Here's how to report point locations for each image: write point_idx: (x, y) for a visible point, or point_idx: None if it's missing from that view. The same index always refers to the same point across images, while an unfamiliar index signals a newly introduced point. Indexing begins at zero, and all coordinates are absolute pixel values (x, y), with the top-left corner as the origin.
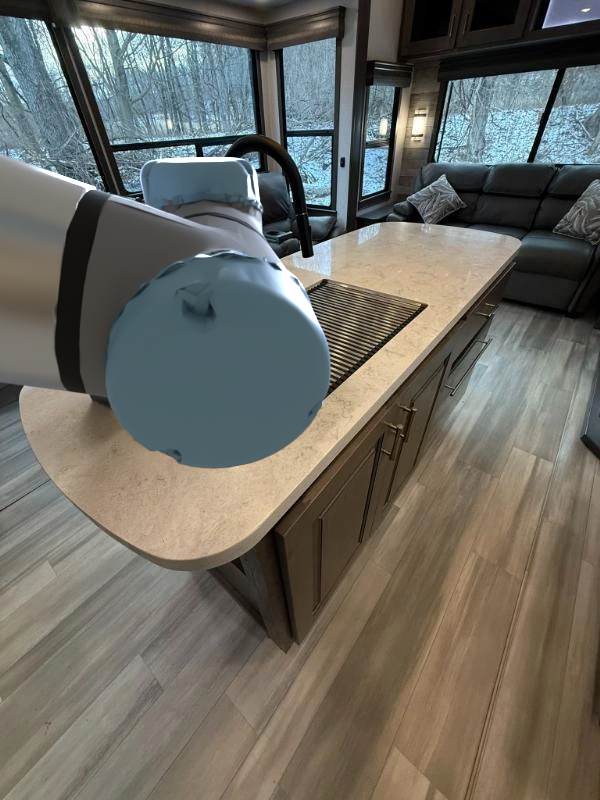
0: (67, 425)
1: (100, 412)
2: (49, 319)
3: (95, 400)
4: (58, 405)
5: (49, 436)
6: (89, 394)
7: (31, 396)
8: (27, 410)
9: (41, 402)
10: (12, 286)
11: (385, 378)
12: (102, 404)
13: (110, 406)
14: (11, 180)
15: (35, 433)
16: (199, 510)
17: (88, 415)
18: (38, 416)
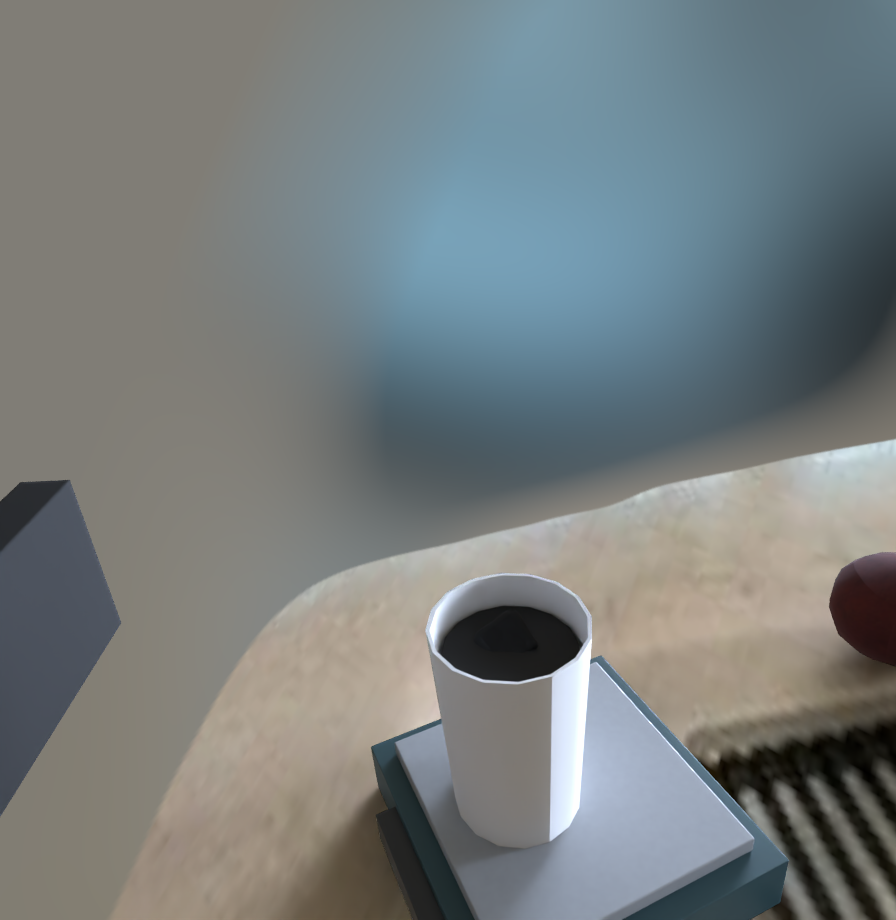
0: (240, 875)
1: (363, 882)
2: None
3: (383, 797)
4: (287, 737)
5: (164, 896)
6: (375, 765)
7: (262, 646)
8: (215, 704)
9: (263, 690)
10: None
11: None
12: (385, 851)
13: (401, 889)
14: None
15: (151, 841)
16: None
17: (322, 868)
18: (215, 754)
